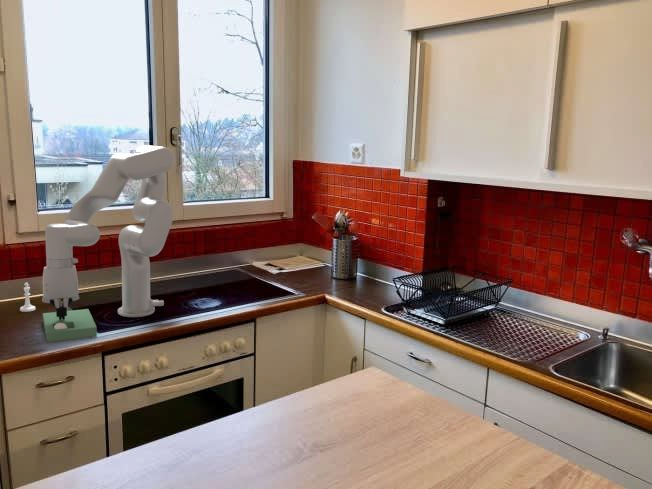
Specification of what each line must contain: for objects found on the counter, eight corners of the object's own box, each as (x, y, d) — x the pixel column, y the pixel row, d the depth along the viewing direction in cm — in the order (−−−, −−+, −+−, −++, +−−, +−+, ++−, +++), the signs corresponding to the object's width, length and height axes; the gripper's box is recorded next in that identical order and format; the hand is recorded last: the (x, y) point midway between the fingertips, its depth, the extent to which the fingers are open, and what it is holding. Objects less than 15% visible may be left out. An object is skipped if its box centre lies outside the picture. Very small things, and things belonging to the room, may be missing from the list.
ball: (66, 338, 171) (64, 333, 175) (69, 326, 171) (68, 321, 174) (52, 336, 169) (51, 331, 172) (56, 324, 169) (54, 319, 172)
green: (88, 317, 190) (88, 308, 190) (96, 336, 173) (96, 327, 173) (43, 321, 183) (42, 313, 183) (47, 342, 166) (46, 332, 166)
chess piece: (28, 312, 192) (27, 284, 190) (16, 310, 193) (15, 283, 191) (38, 308, 197) (37, 281, 195) (26, 306, 198) (25, 280, 196)
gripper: (84, 259, 180) (85, 312, 184) (32, 261, 173) (35, 317, 176) (86, 264, 174) (88, 319, 177) (33, 267, 167) (36, 324, 170)
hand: (61, 318), depth 177 cm, fingers closed
